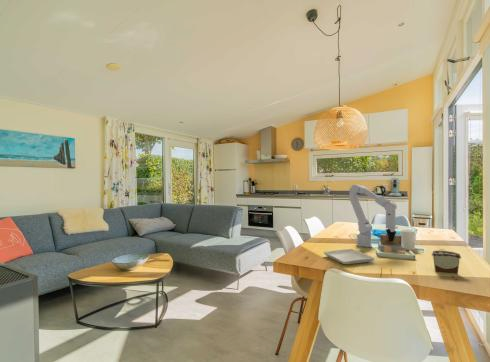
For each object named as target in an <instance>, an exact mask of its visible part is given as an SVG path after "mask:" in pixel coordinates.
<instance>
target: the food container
mask: <svg viewBox="0 0 490 362" xmlns="http://www.w3.org/2000/svg"><path fill="white" fill-rule="evenodd" d="M431 257H433V265H434V272H435V273H438V274H439V273H441V274H450V275H459V268H460V267H459V266H460V259H462V256H461V254H460V253H457V252H454V251H448V250H433V251H432V253H431Z"/></svg>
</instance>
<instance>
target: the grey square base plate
mask: <svg viewBox="0 0 490 362" xmlns="http://www.w3.org/2000/svg"><path fill="white" fill-rule="evenodd" d="M377 243H378V244H377V245H378V246H377V249H378V251H383V252H384V246H391V252H396V253H397V250H403V251H405V252H406V249H405V247H404V246H403V245H402V243H401V245H390V244H381V243H380V241H378V242H377Z"/></svg>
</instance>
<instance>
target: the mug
mask: <svg viewBox="0 0 490 362" xmlns="http://www.w3.org/2000/svg"><path fill="white" fill-rule="evenodd" d="M400 235H401V243H402V245H403V246H404V247H405V250H409V251H413V250H414V251H415V250H416V246H415V245H416V244H415V243H416V239H417V235H416V231H415V230H412V229H400Z"/></svg>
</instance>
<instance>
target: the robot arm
mask: <svg viewBox="0 0 490 362" xmlns="http://www.w3.org/2000/svg"><path fill="white" fill-rule="evenodd" d="M361 194H365V195H366V196H368V197H370V198H372V199H373V200H374V202H375V203H376V204H377V205H379V206H381V207H382V208H384V210H385V232H386V234H388V237H389V241H392V242H393V240H394V236H395V235H396V234H397V231H396V229H397V230H398V227H397V226H396V219H397V218H396V210H397V204H396V203H395V202H394V201H391V200H389V199H387V198H386V197H385V196H384V195H378V194H376V193H374V192H373V191H372V190H371V189H369V188H367V187H366V186H365V185H362V184H352V185H351V186H350V188H349V196H348V197H349V201H350V203H351V205H352V209H353V211H354V214H355V216H356V219H357V225H358V231H359V232H357V233H356V245H357V247H361V248H362V247H363V248H373V246H372V230H373V225H372V224H371V223H370V222H369V220H368V219H367V218H366V215H365V213H364V211H363V208H362V205H361V204H360V203H361V202H360V201H359V197H360V195H361Z"/></svg>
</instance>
